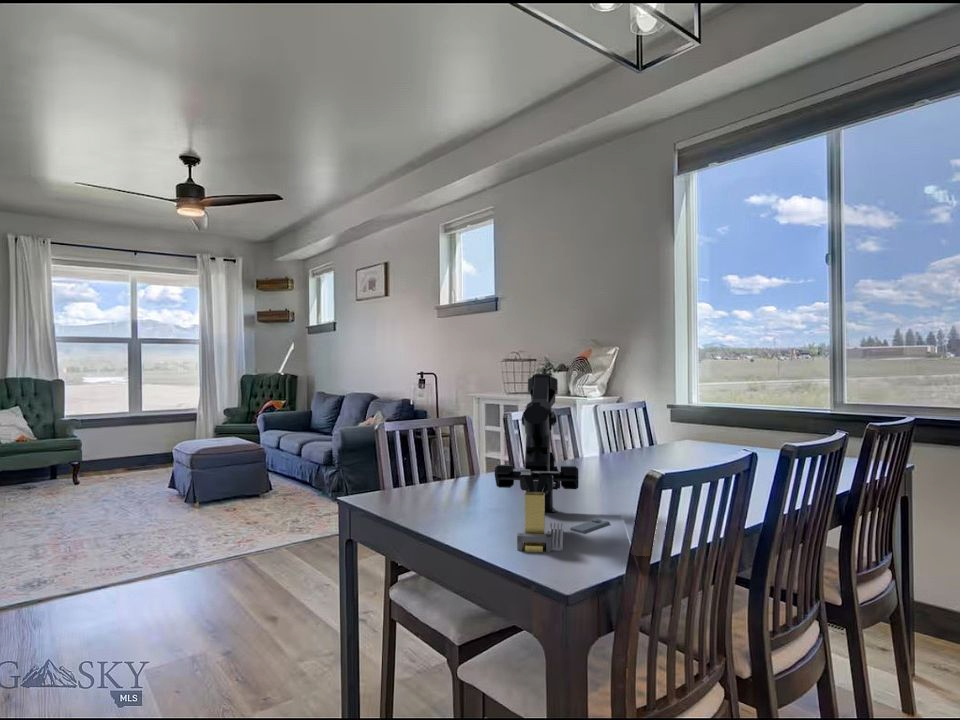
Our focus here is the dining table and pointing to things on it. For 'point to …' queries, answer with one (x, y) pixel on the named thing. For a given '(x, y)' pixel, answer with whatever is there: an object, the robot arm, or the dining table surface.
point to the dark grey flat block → (590, 526)
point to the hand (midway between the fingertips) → (535, 509)
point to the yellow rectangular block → (534, 519)
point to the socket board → (543, 539)
